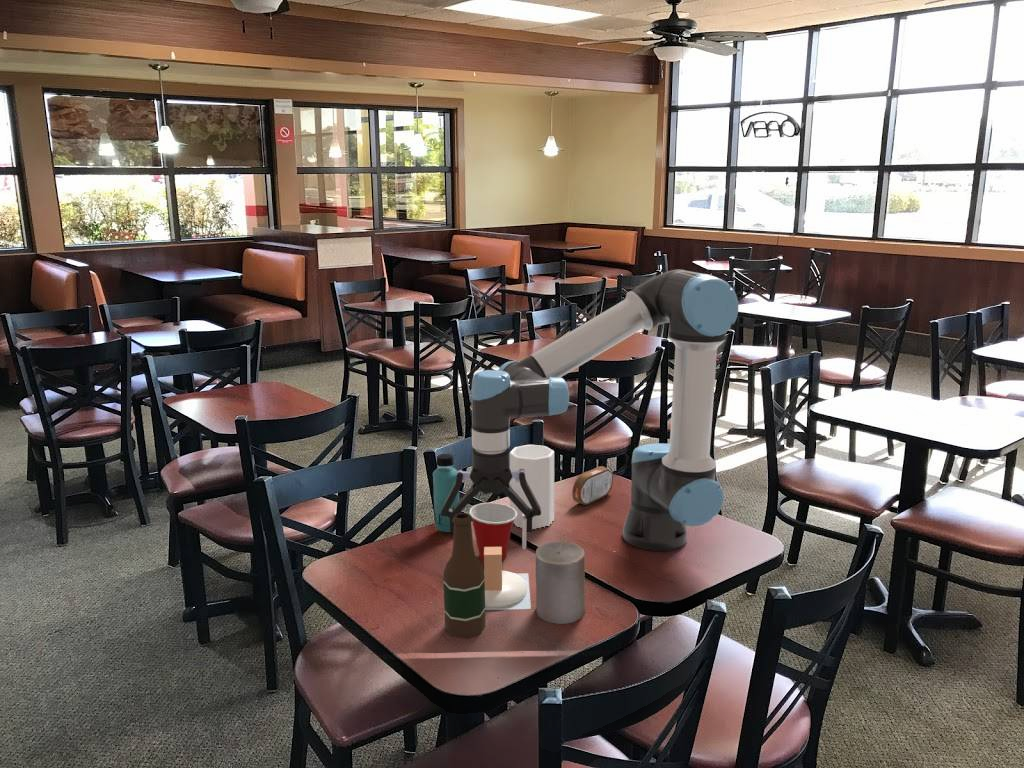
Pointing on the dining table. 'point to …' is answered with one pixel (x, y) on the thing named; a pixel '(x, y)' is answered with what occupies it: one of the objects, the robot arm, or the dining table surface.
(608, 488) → the tin
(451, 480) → the beverage bottle
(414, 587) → the dining table surface
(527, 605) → the mat
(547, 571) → the pillar candle
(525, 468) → the cup
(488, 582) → the lid
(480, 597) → the beer bottle
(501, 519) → the plastic cup
